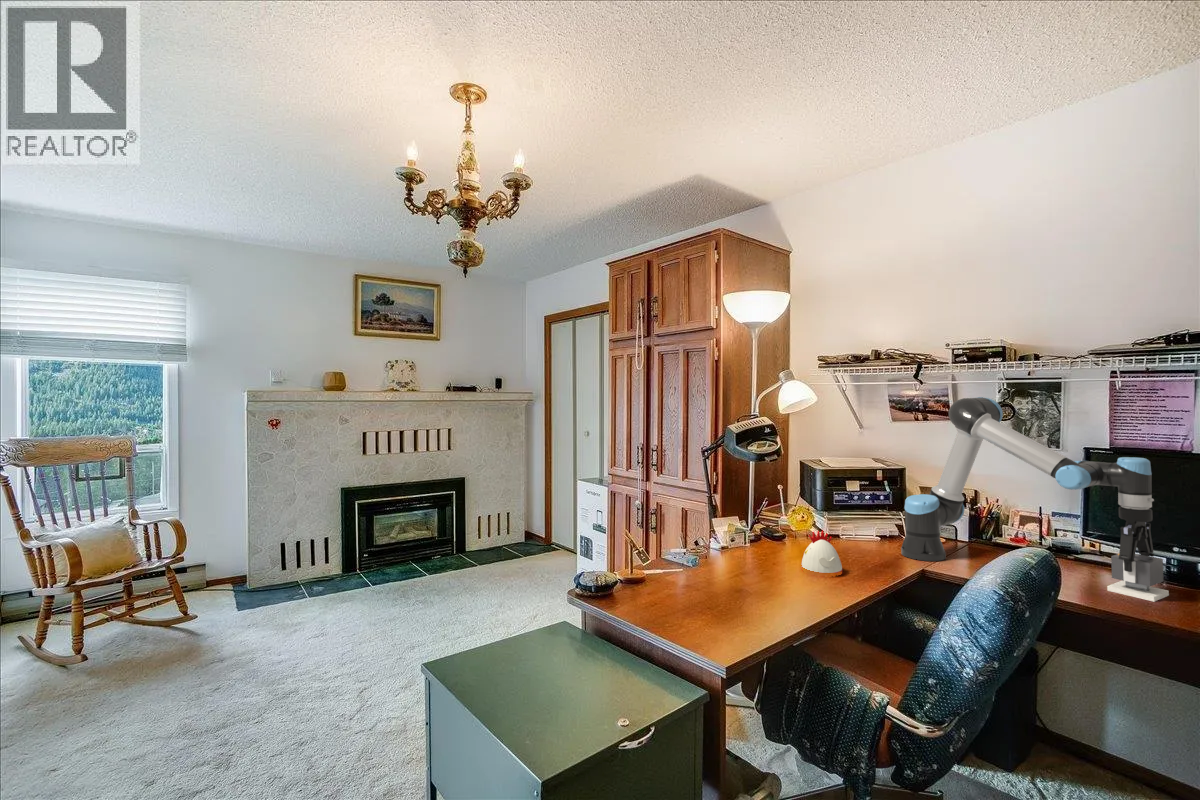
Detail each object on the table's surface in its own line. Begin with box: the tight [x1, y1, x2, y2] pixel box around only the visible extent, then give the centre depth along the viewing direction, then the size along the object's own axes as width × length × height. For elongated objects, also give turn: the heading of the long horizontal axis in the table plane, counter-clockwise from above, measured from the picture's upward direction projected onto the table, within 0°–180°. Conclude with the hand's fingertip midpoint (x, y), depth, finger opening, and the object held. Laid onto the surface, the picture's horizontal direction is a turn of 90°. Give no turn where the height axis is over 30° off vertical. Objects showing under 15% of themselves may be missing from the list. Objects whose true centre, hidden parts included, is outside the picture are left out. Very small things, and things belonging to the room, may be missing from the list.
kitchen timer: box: [801, 530, 843, 573], centre depth 200 cm, size 14×14×15 cm
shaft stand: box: [1106, 580, 1170, 603], centre depth 171 cm, size 11×10×10 cm
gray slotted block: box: [1110, 553, 1164, 587], centre depth 171 cm, size 9×9×7 cm
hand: (1137, 578), depth 171 cm, fingers closed on gray slotted block, 9 cm apart
